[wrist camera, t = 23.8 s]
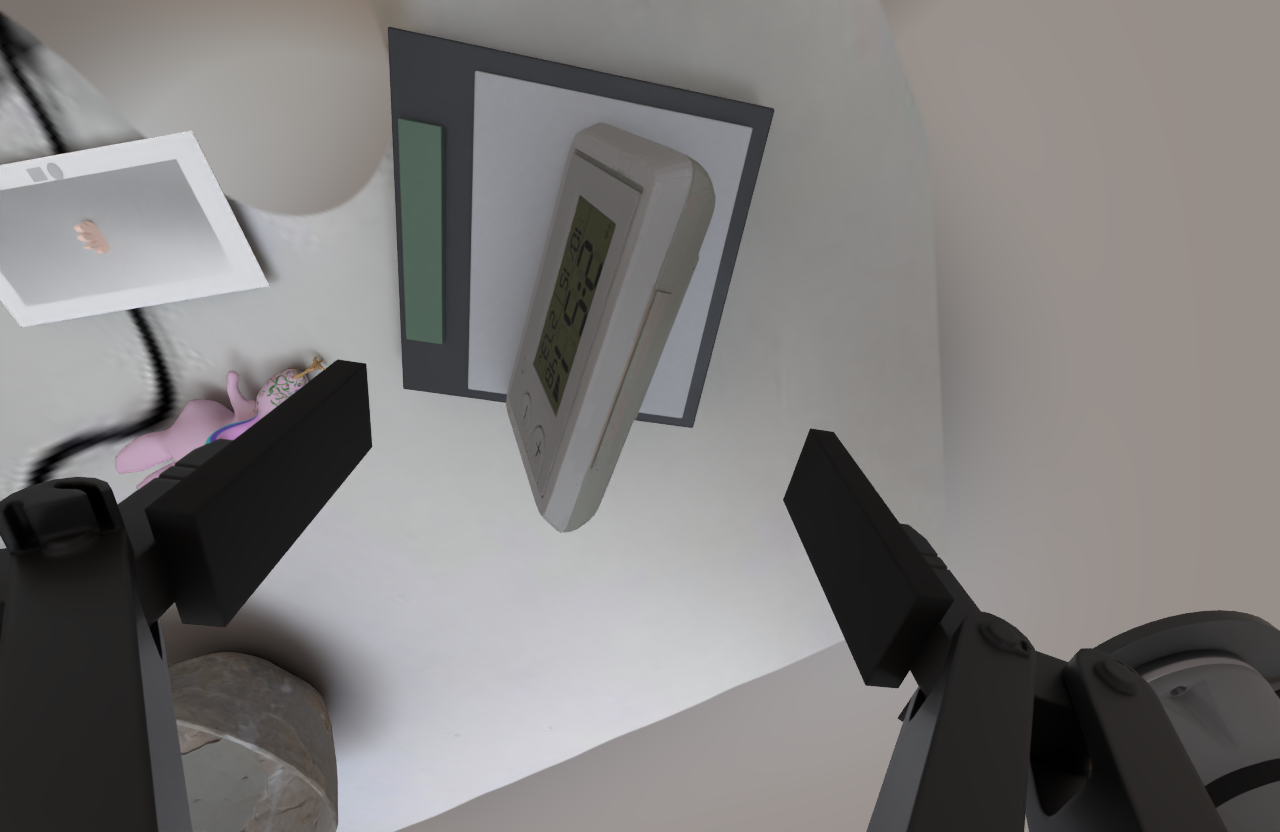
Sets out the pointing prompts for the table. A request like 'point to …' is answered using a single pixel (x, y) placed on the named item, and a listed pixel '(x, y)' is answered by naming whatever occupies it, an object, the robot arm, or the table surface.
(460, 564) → the table surface
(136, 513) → the robot arm
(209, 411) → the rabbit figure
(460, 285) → the scale
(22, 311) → the touchpad
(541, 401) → the digital clock
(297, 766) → the ceramic bowl
